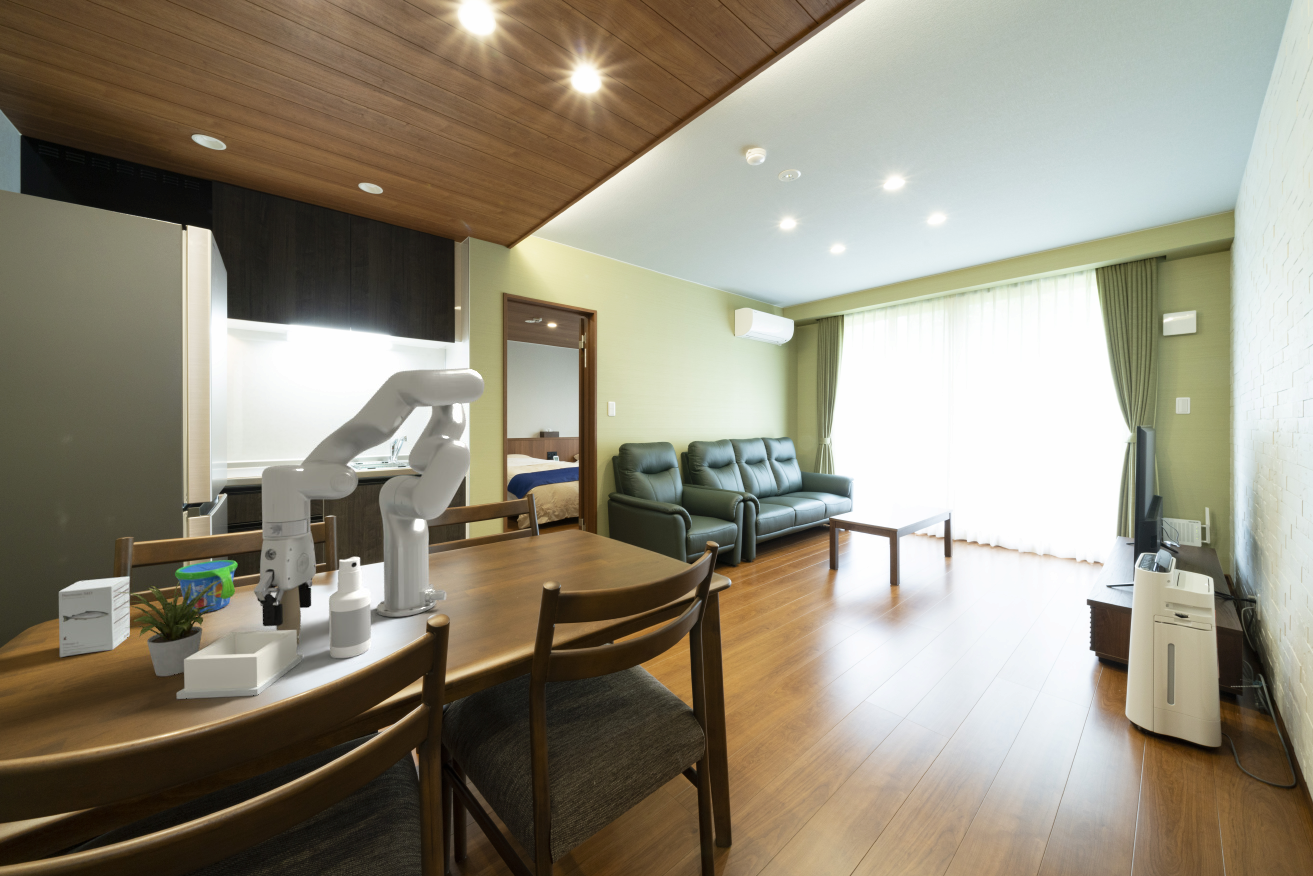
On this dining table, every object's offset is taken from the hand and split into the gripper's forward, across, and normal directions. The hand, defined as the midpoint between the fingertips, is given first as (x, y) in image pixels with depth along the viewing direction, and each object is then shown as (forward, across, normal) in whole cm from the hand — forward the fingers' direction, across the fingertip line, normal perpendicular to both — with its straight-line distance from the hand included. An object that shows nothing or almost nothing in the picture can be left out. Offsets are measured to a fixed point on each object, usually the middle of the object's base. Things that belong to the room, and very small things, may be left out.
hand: (288, 615), depth 97 cm
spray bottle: (+6, -3, -13) cm, 15 cm away
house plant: (+6, -8, +15) cm, 19 cm away
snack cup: (+6, +22, +31) cm, 39 cm away
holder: (+6, -12, 0) cm, 13 cm away
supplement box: (+6, +3, +37) cm, 38 cm away
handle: (+6, 0, 0) cm, 6 cm away
